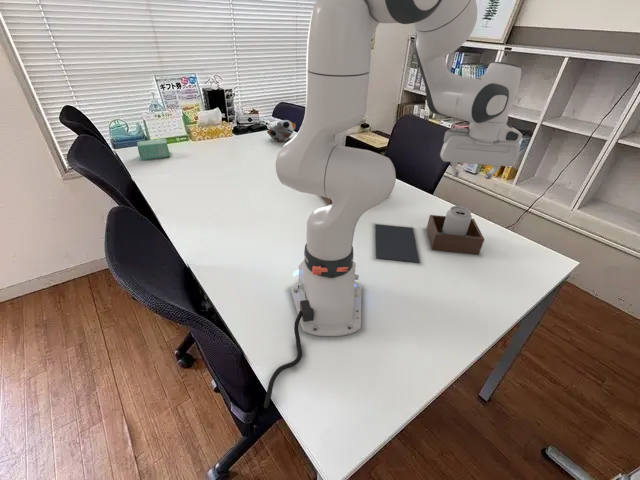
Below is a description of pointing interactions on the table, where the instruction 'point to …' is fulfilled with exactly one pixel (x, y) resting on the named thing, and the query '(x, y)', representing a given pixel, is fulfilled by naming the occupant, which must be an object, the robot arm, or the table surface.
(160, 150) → the box
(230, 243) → the table surface
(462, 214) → the can
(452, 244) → the crate
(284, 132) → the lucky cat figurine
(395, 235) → the mat
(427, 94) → the robot arm
